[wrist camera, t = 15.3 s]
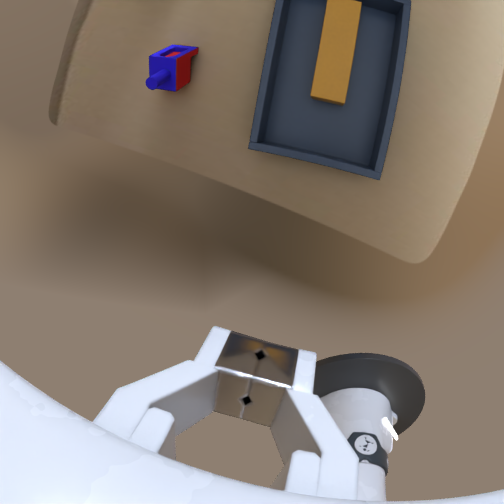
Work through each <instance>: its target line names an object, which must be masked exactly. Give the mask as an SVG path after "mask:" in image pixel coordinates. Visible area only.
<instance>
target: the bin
mask: <svg viewBox="0 0 504 504" xmlns="http://www.w3.org/2000/svg"><path fill="white" fill-rule="evenodd" d="M355 1H359V2H362V5H361V12H360V19H359V26H358V32H357V39H356V45H355V51H354V57H353V62H352V68H351V74H350V79H349V85H348V90H347V95H346V100H345V104H344V105H343V106H341V105H337V104H332V103H328V102H324V101H319V100H315V99H312V98H311V96H310V94H311V88H312V83H313V78H314V73H315V67H316V62H317V56H318V51H319V45H320V40H321V34H322V28H323V23H324V17H325V11H326V5H327V0H276V3H275V8H274V13H273V18H272V23H271V28H270V33H269V38H268V44H267V49H266V54H265V59H264V65H263V70H262V75H261V80H260V86H259V91H258V97H257V102H256V108H255V113H254V119H253V124H252V130H251V136H250V142H249V147H248V149H251V150H256V151H262V152H267V153H271V154H276V155H281V156H286V157H290V158H295V159H299V160H303V161H308V162H312V163H316V164H320V165H324V166H328V167H332V168H336V169H340V170H344V171H348V172H351V173H355V174H359V175H362V176H366V177H369V178H373V179H376V180H380V177H381V173H382V169H383V165H384V161H385V157H386V153H387V149H388V144H389V140H390V135H391V131H392V126H393V121H394V117H395V112H396V107H397V101H398V96H399V91H400V85H401V79H402V73H403V67H404V60H405V53H406V46H407V38H408V29H409V20H410V10H411V0H355Z"/></svg>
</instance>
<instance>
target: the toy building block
mask: <svg viewBox="0 0 504 504" xmlns="http://www.w3.org/2000/svg"><path fill="white" fill-rule="evenodd" d="M196 54H198V47H191V46H182V45H171V46H169V47H167V48H165V49H162V50H160V51H158V52H156V53H154V54H152V55H150V56H149V76H150V77H149V78H148V79H147V80H146V86H147V87H148V88H149V89H151V90H154V89H162V90H168V91H175V92H176V91H178V90H179V89H180V88H182V87H183V86H184V85H186V84H187V83H189V82H190V73H191V57H192V56H194V55H196Z"/></svg>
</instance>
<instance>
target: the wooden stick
mask: <svg viewBox="0 0 504 504" xmlns="http://www.w3.org/2000/svg"><path fill="white" fill-rule="evenodd" d="M361 5H362V2H359V1H355V0H327V5H326V11H325V17H324V23H323V28H322V34H321V40H320V45H319V51H318V56H317V62H316V67H315V73H314V78H313V83H312V88H311V94H310V96H311V98H312V99H315V100H319V101H324V102H328V103H332V104H337V105H341V106H343V105H344V104H345V100H346V95H347V90H348V85H349V79H350V74H351V68H352V62H353V57H354V51H355V45H356V39H357V32H358V26H359V19H360V12H361Z"/></svg>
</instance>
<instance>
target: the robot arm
mask: <svg viewBox="0 0 504 504" xmlns="http://www.w3.org/2000/svg"><path fill="white" fill-rule="evenodd" d="M316 356H317V355H316V353H315V352H311V351H305V350H301V349H295V348H291V347H287V346H283V345H279V344H275V343H271V342H267V341H263V340H260V339H257V338H254V337H250V336H247V335H244V334H241V333H237V332H234V331H230V330H226V329H223V328H220V327H217V326H214V327H213V328H212V329H211V331H210V333H209V335H208V336H207V338H206V340H205V342H204V344H203V345H202V347H201V349H200V351H199V352H198V354H197V356H196V358H195V360H194V361H190V360H187V361H185V362H182V363H180V364H178V365H175V366H173V367H171V368H168V369H166V370H163V371H161V372H158V373H156V374H154V375H151V376H149V377H146V378H144V379H141V380H139V381H136V382H134V383H131V384H129V385H126V386H123V387H121V388H118V389H117V390H116V391H115V393H114V394H113V395H112V397H111V398H110V399H109V401H108V402H107V403H106V405H105V406H104V407H103V409H102V410H101V412H100V413H99V414H98V416H97V417H96V418H95V420H94V421H93V422H91V421H89V420H87V419H85V418H84V417H82V416H80V415H78V414H77V413H75V412H73V411H72V410H70V409H68V408H67V407H65V406H63V405H62V404H60V403H59V402H57V401H55V400H54V399H52V398H51V397H49V396H48V395H46V394H45V393H43V392H42V391H40V390H39V389H37V388H36V387H35V386H33V385H32V384H30V383H29V382H27V381H26V380H25V379H23V378H22V377H21V376H19V375H18V374H17V373H15V372H14V371H13V370H11V369H10V368H9V367H8V366H6V365H5V364H4V363H3V362H2V361H0V504H504V489H503V490H498V491H494V492H489V493H483V494H478V495H471V496H464V497H456V498H447V499H437V500H422V501H386V488H385V477H386V475H387V473H388V457H387V455H388V454H389V452H391V451H392V442H393V436H394V437H395V439H396V440H397V439H398V437H397V434H396V433H395V431H394V429H393V425H394V424H396V423H397V415H396V414H395V413H394V412H393V411H392V410H391V406H390V402H389V400H388V399H387V398H386V397H385V396H384V395H383V394H381V393H380V392H377V391H375V390H371V389H366V388H347V389H342V390H338V391H335V392H332V393H330V394H328V395H326V396H324V397H321V398H319V396H318V395H314V394H313V387H314V378H315V367H316ZM212 411H215V412H218V413H222V414H225V415H229V416H233V417H236V418H240V419H243V420H247V421H251V422H254V423H257V424H261V425H264V426H268V427H270V430H271V433H272V435H273V438H274V440H275V443H276V446H277V448H278V451H279V453H280V456H281V458H282V461H283V463H284V467H283V469H282V470H281V472H280V473H279V475H278V476H277V478H276V479H275V480H274V482H273V484H272V485H271V486H270V488H266V487H262V486H258V485H253V484H249V483H245V482H241V481H238V480H233V479H230V478H227V477H223V476H220V475H217V474H213V473H210V472H207V471H204V470H201V469H198V468H195V467H192V466H189V465H186V464H183V463H181V462H178V461H176V454H175V436H177V435H179V434H180V433H182V432H183V431H185V430H187V429H188V428H190V427H191V426H193V425H194V424H196V423H197V422H199V421H200V420H202V419H203V418H205V417H206V416H208V415H209V414H211V413H212Z"/></svg>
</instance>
